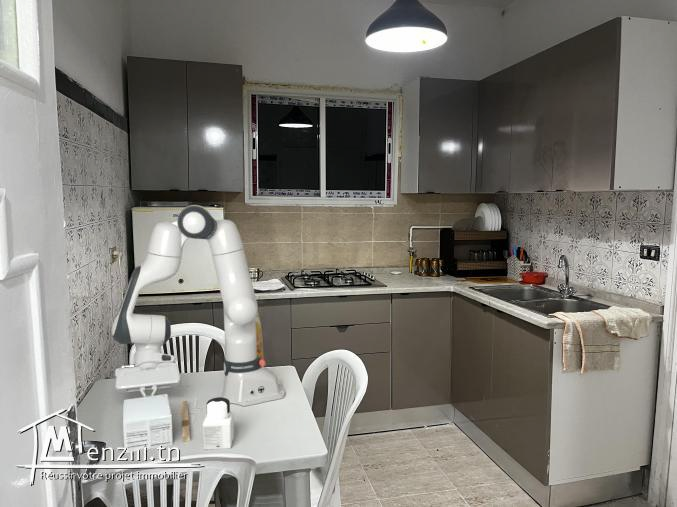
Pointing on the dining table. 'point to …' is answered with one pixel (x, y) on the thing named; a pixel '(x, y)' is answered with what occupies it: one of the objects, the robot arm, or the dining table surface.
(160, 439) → the supplement box
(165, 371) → the robot arm
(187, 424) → the guide rail
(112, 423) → the dining table surface
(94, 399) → the dining table surface
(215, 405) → the container
